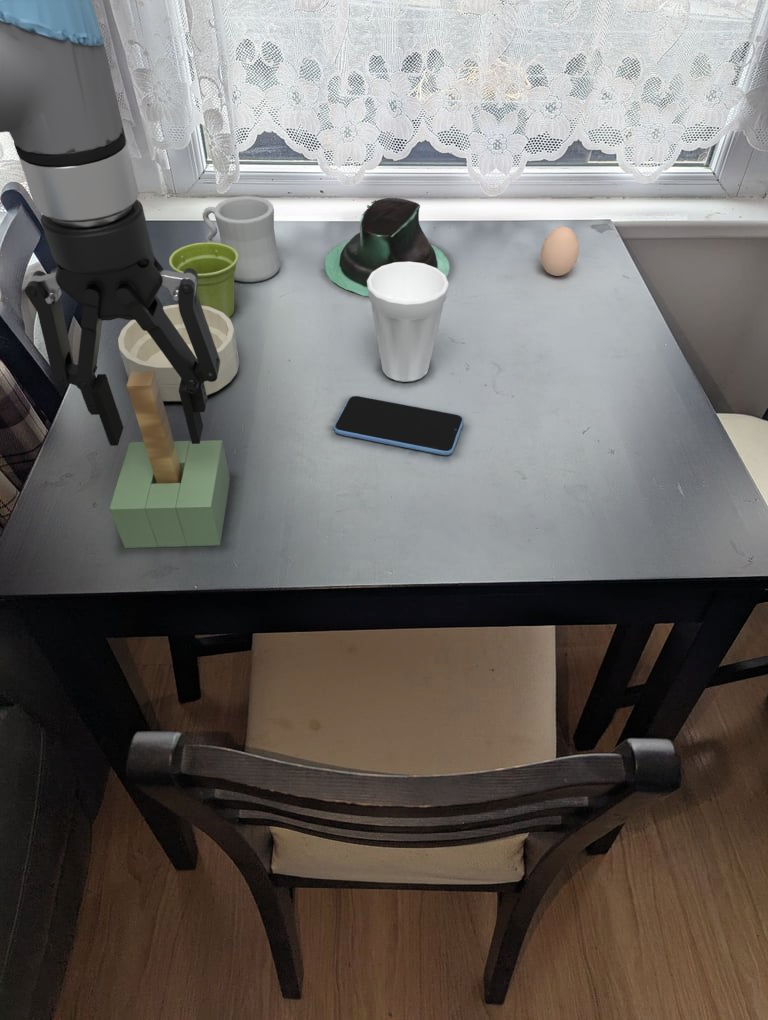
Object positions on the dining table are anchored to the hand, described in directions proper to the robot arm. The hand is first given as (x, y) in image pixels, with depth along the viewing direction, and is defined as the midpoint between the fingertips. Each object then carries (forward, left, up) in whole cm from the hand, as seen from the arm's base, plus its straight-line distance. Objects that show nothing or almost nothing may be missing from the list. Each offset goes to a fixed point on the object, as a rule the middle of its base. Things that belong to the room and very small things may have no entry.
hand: (157, 435), depth 72 cm
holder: (0, 0, -11) cm, 11 cm away
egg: (+71, +12, -11) cm, 73 cm away
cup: (+36, +6, -11) cm, 38 cm away
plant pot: (+22, +34, -11) cm, 42 cm away
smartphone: (+28, -3, -11) cm, 30 cm away
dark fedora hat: (+51, +30, -11) cm, 60 cm away
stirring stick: (0, 0, -11) cm, 11 cm away
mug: (+32, +43, -11) cm, 55 cm away
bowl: (+12, +23, -11) cm, 28 cm away
